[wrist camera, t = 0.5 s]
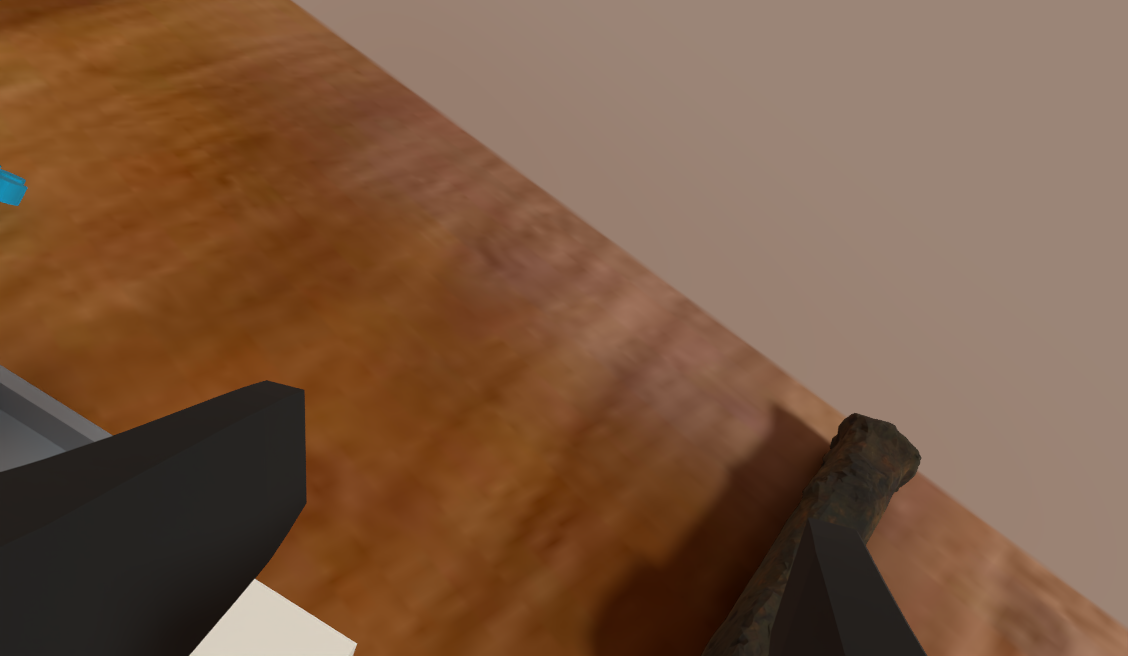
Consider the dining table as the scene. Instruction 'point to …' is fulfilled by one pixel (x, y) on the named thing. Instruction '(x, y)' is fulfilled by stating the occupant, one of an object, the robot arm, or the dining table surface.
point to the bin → (37, 424)
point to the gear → (11, 188)
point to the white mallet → (271, 629)
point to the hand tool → (836, 495)
